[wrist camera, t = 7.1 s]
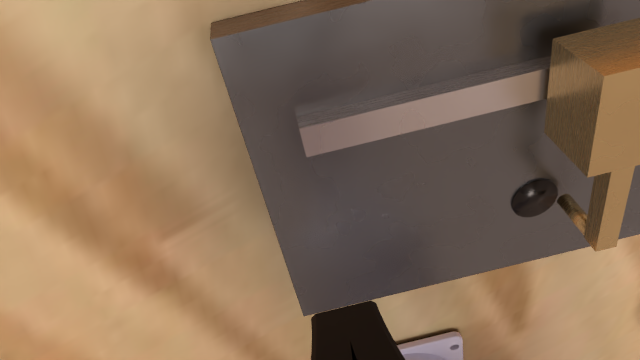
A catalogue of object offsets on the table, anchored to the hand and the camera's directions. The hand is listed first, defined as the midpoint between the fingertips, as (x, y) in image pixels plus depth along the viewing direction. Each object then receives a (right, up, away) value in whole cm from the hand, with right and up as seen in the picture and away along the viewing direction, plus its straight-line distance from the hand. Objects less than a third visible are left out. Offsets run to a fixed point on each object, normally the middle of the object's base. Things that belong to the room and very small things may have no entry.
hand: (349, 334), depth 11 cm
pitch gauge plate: (+10, +6, +10) cm, 15 cm away
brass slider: (+9, +5, +8) cm, 13 cm away
